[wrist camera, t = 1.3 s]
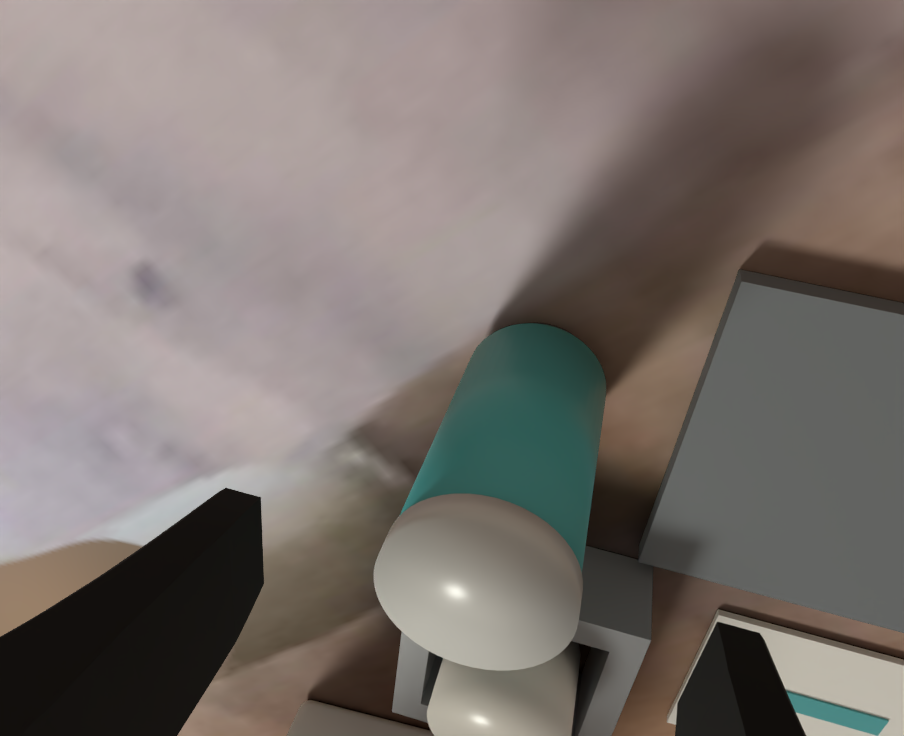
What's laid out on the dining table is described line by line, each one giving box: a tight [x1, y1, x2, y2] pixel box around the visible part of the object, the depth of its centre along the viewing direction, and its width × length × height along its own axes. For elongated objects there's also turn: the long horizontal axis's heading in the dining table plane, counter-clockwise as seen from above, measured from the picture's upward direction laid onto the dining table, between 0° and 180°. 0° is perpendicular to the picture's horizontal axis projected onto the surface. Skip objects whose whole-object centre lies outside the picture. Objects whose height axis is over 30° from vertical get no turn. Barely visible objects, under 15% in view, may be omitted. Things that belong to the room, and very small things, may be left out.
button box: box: [392, 546, 653, 736], centre depth 21 cm, size 6×6×2 cm
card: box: [667, 609, 904, 736], centre depth 21 cm, size 6×5×1 cm
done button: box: [427, 641, 581, 736], centre depth 19 cm, size 4×4×3 cm
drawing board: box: [638, 269, 904, 633], centre depth 16 cm, size 9×8×1 cm
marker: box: [374, 323, 606, 671], centre depth 14 cm, size 3×3×7 cm
